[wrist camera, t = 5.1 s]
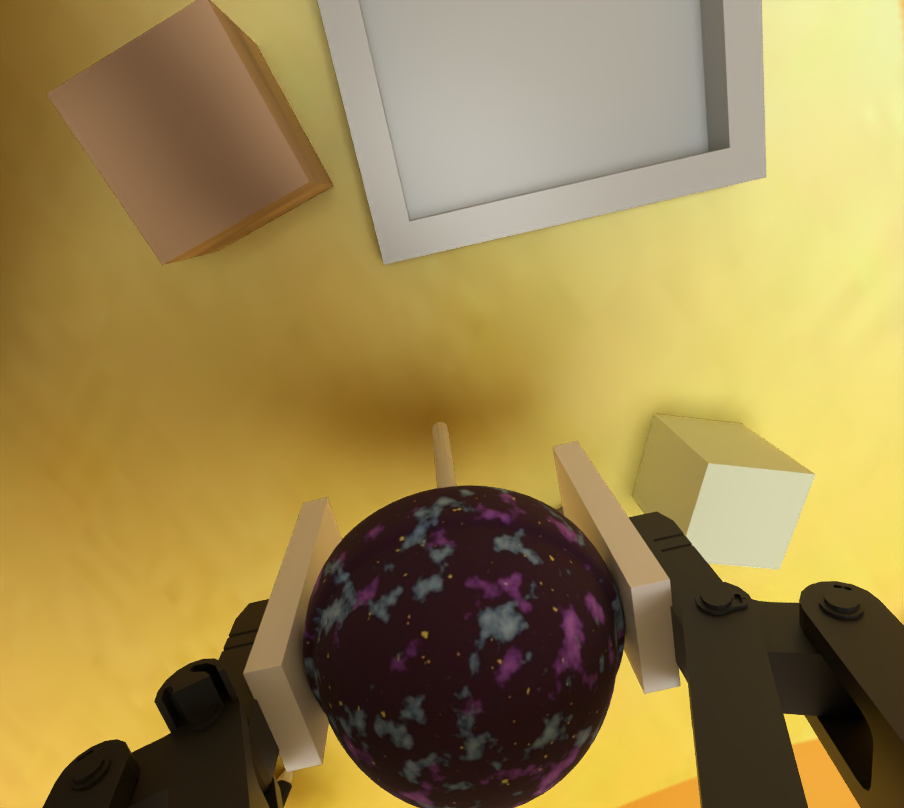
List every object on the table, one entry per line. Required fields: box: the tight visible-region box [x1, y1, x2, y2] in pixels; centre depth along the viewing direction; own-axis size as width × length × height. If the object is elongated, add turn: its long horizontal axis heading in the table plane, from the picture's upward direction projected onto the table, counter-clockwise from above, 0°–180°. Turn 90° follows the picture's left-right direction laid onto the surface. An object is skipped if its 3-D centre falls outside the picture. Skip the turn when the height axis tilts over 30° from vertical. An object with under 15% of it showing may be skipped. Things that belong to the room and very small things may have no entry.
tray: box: [317, 0, 766, 265], centre depth 19 cm, size 13×13×2 cm
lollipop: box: [303, 422, 625, 808], centre depth 17 cm, size 7×7×15 cm
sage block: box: [632, 414, 815, 570], centre depth 23 cm, size 4×4×5 cm
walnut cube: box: [46, 0, 334, 265], centre depth 18 cm, size 5×5×5 cm
